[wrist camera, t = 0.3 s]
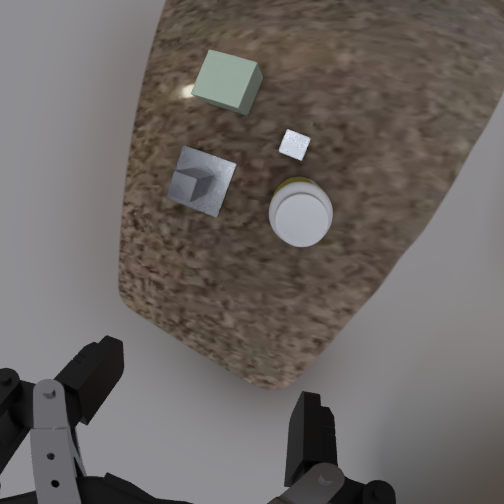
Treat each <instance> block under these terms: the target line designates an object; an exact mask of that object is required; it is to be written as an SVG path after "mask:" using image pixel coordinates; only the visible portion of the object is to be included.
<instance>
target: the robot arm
mask: <svg viewBox="0 0 504 504" xmlns="http://www.w3.org/2000/svg"><path fill="white" fill-rule="evenodd" d="M123 355H124V354H123V342H122V341H120V340H118V339H116V338H113V337H110V336H108V335H107V336H105V337H104V338H103V339H102V340H101V341H100V342H99V343H96V342H93V343H91V344H88V345H86V346H84V348H83V349H82V350H81V351H80V352H79V353H78V355H76V356H75V357H74V358H73V360H71V361H70V362H69V363H68V364H67V365H66V367H65V368H64V369H63V370H62V371H61V372H60V373H59V374H58V375H57V376H56V377H55V378H54V379H53V380H52V379H45V380H42V381H40V382H38V383H37V384H34V383H30V382H26V381H22V380H20V378H19V376H18V373H16V371H15V370H13V369H10V368H3V369H0V474H1V473H2V471H3V470H4V468H5V467H6V465H7V464H8V462H9V460H10V459H11V457H12V456H13V454H14V453H15V451H16V450H17V449H18V447H19V445H20V444H21V442H22V441H23V440H24V438H25V437H26V435H27V434H28V433H29V431H30V441H31V454H32V464H33V473H34V480H35V487H36V491H32V492H28V493H24V494H20V495H16V496H12V497H7V498H2V499H0V504H192V503H189V502H185V501H174V500H165V499H158V498H154V497H153V496H151V495H149V494H148V493H146V492H145V491H143V490H141V489H140V488H138V487H137V486H135V485H134V484H132V483H131V482H128V481H126V480H123V479H121V478H119V477H116V476H114V475H112V474H110V473H106V475H105V477H98V476H87V474H86V471H85V468H84V465H83V462H82V457H81V452H80V447H79V442H78V437H77V431H76V425H77V424H78V422H81V423H83V424H85V425H88V424H89V422H90V421H91V419H92V418H93V416H94V415H95V414H96V412H97V411H98V409H99V408H100V406H101V405H102V404H103V402H104V401H105V399H106V398H107V396H108V395H109V394H110V392H111V391H112V389H113V388H114V386H115V385H116V383H117V382H118V381H119V379H120V378H121V376H122V374H123V371H124V356H123ZM284 486H285V487H290V488H289V489H288V490H287V491H285V492H284V493H283V494H282V495H280V496H279V497H276V498H274V499H273V500H271V501H270V502H269V503H267V504H396V499H395V491H394V489H393V487H392V486H391V485H390V484H388V483H387V482H385V481H381V480H374V481H371V482H369V483H368V484H362V483H359V482H356V481H353V480H351V479H349V478H347V477H346V476H344V474H343V472H342V470H341V469H340V468H338V464H337V449H336V436H335V422H334V416H333V414H332V412H331V410H330V409H329V407H323V406H321V401H320V394H316V393H311V392H305V391H302V393H301V395H300V397H299V399H298V401H297V404H296V406H295V408H294V410H293V412H292V415H291V418H290V422H289V432H288V445H287V458H286V471H285V482H284ZM0 487H1V484H0Z"/></svg>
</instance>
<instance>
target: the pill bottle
mask: <svg viewBox="0 0 504 504" xmlns="http://www.w3.org/2000/svg"><path fill="white" fill-rule="evenodd" d="M332 218H333V210H332V205H331V202H330V200H329V198H328V196H327V195H326V193H325V192H324V191H323V190H322V189H321V188H320V186H319V185H318V184H317V183H315V182H314V181H312V180H311V179H309V178H306V177H299V176H298V177H291V178H289V179H286V180H285V181H283V182H282V183H281V184H280V185H279V186H278V187H277V189H276V190H275V192H274V195H273V198H272V200H271V203H270V207H269V220H270V224H271V226H272V228H273V230H274V232H275V233H276V234H277V235H278V236H279V237H280V238H281V239H282V240H284V241H286V242H287V243H289V244H291V245H293V246H297V247H307V246H311V245H313V244H315V243H317V242H318V241H320V240H321V239H322V238H323V236H324V235H325V234H326V232H327V231H328V229H329V228H330V225H331V223H332Z"/></svg>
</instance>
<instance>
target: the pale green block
mask: <svg viewBox="0 0 504 504" xmlns="http://www.w3.org/2000/svg"><path fill="white" fill-rule="evenodd" d="M262 80H263V76H262V73H261V71H260V68H259V66H258V63H257V62H254V61H250V60H247V59H243V58H240V57H236V56H233V55H229V54H225V53H221V52H217V51H213V50H209V52H208V54H207V56H206V59H205V61H204V63H203V65H202V68H201V70H200V73H199V75H198V77H197V80H196V82H195V85H194V87H193V90H192V92H191V94H192V95H194V96H196V97H197V98H199V99H201V100H203V101H205V102H206V103H208V104H212V105H215V106H218V107H221V108H224V109H228V110H231V111H234V112H237V113H240V114H243V115H246V116H248V114H249V112H250V109H251V107H252V104H253V102H254V99H255V97H256V94H257V92H258V90H259V87H260V85H261V82H262Z"/></svg>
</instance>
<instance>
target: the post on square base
mask: <svg viewBox="0 0 504 504" xmlns="http://www.w3.org/2000/svg"><path fill="white" fill-rule="evenodd" d="M236 166H237V164H236V163H233V162H230V161H228V160H225V159H222V158H219V157H217V156H214V155H211V154H208V153H205V152H203V151H200V150H197V149H194V148H191V147H188V146H185V145H184V146H183V149H182V151H181V154H180V157H179V160H178V163H177V166H176V169H175V171H174V174H173V177H172V180H171V183H170V186H169V190H168V193H167V198H168V199H171V200H173V201H176V202H178V203H181V204H183V205H186V206H189V207H191V208H194V209H196V210H199V211H201V212H204V213H206V214H209V215H211V216H214V217H216V218H217V217H218V215H219V212H220V209H221V206H222V204H223V201H224V198H225V195H226V193H227V190H228V187H229V184H230V182H231V179H232V176H233V174H234V171H235V168H236Z"/></svg>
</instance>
